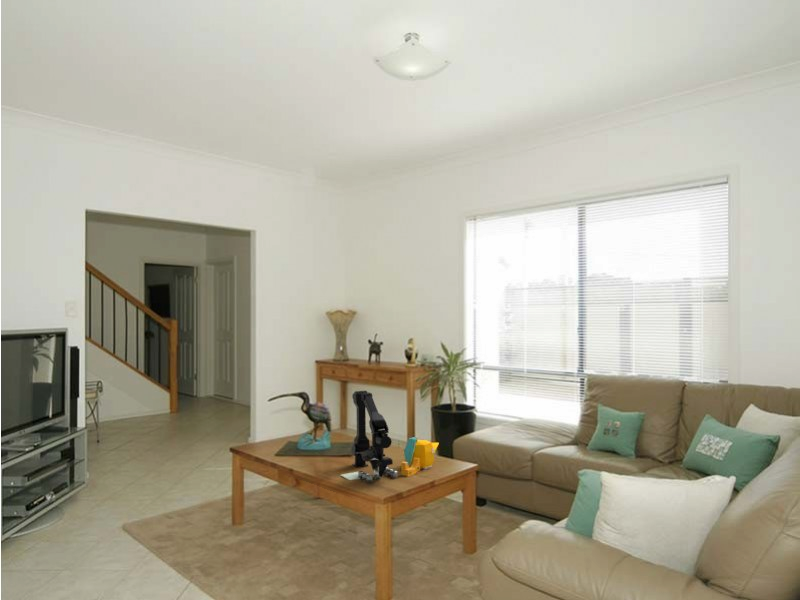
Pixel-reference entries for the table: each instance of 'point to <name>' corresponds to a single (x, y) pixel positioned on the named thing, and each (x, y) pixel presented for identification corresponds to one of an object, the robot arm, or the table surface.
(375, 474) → the stepped steel cylinder
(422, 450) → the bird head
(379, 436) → the robot arm
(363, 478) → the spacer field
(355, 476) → the sage mat
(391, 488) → the table surface
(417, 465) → the pipe clamp
